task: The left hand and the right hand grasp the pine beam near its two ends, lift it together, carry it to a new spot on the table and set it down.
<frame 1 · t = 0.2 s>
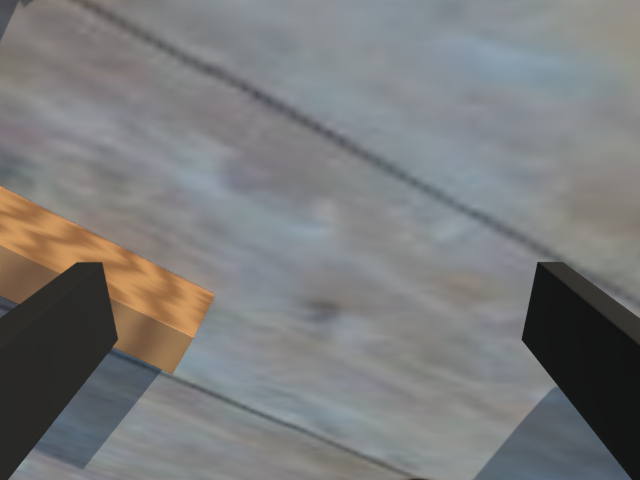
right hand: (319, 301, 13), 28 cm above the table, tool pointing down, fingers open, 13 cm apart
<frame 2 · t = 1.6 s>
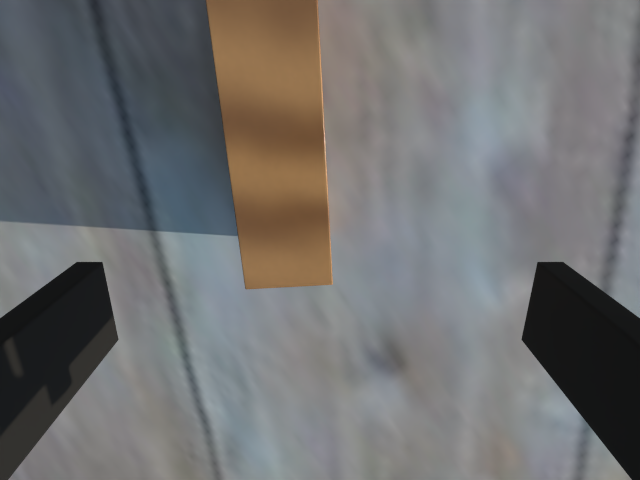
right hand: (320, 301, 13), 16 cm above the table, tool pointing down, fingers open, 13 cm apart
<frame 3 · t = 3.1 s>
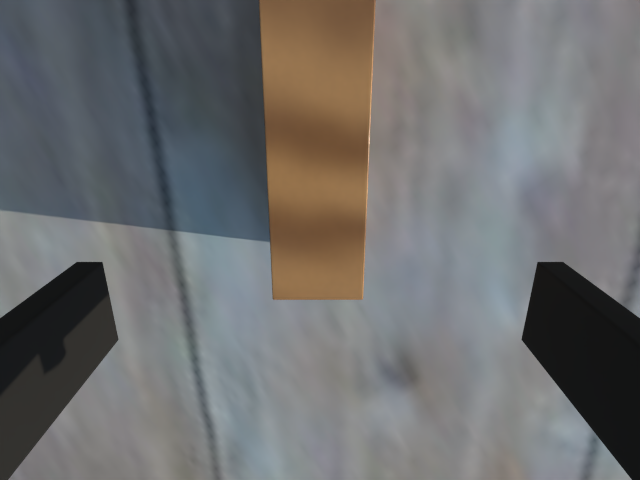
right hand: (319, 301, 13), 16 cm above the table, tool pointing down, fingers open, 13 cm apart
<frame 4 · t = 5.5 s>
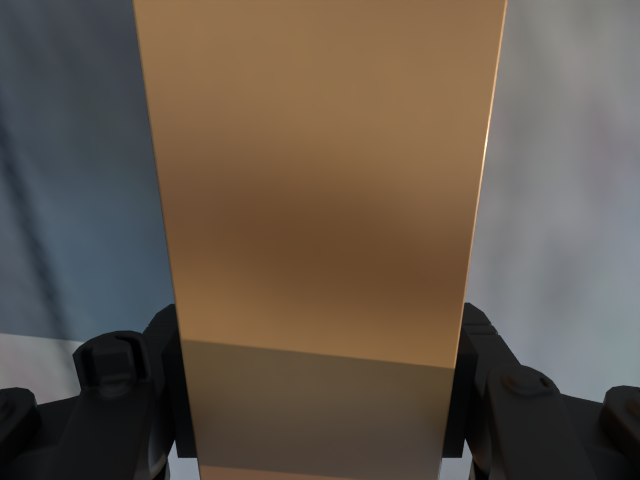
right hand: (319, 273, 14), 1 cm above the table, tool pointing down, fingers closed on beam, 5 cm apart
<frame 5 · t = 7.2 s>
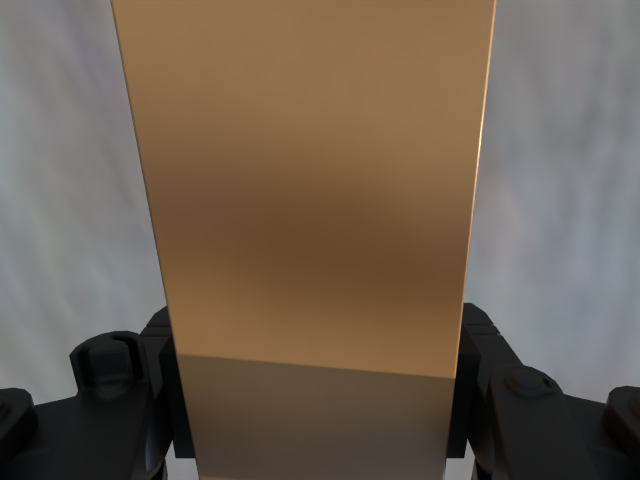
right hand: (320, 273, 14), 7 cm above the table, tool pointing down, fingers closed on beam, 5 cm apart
when the right hand's fingers open (2 cm above the table, at t = 8.7 s): beam moves 1 cm, on the table.
when the left hand's fingers open (4 cm above the table, at t = 8.9 s): beam stays where it is, on the table.
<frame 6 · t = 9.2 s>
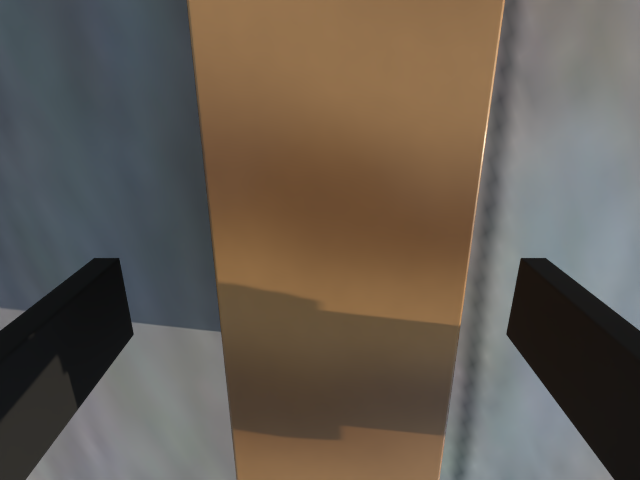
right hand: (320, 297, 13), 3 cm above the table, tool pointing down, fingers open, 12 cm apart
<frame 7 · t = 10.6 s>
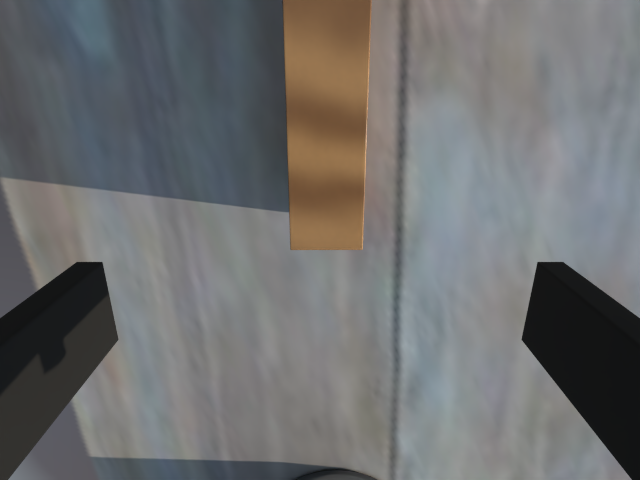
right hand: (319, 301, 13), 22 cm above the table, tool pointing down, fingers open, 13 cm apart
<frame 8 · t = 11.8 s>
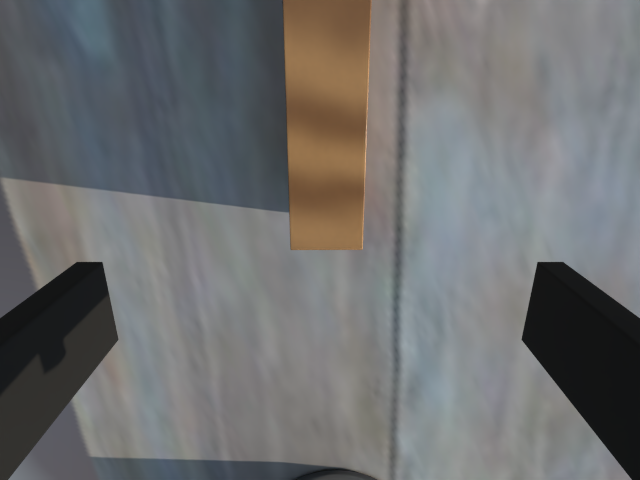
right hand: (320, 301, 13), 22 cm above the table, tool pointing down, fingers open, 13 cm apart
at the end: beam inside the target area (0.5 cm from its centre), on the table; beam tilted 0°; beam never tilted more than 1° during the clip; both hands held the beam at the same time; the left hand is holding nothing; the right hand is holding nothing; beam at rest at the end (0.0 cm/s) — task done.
